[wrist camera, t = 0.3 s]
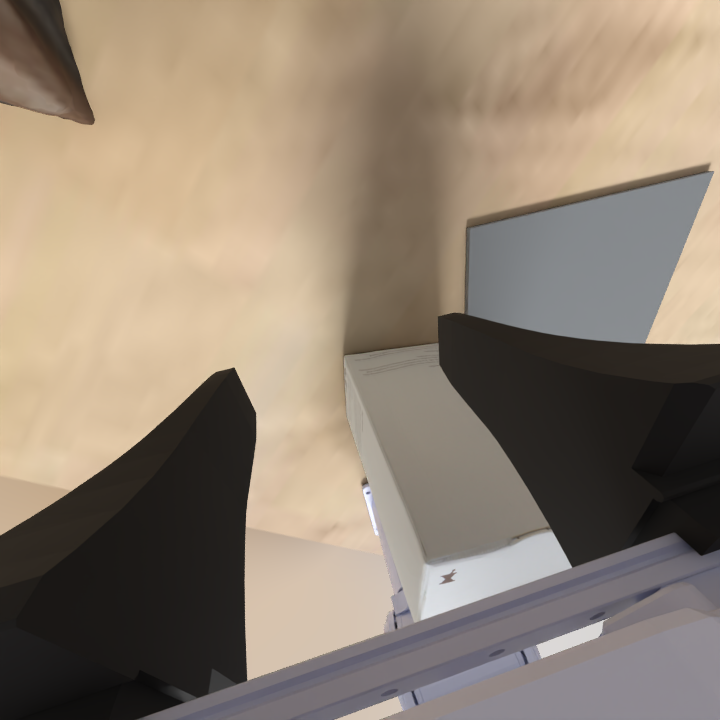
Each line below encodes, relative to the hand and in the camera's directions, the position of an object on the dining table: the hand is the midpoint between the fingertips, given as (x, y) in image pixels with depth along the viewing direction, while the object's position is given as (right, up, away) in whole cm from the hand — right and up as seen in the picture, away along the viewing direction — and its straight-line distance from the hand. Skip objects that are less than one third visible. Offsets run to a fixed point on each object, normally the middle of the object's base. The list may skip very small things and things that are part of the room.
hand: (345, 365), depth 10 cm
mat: (+18, +3, +15) cm, 23 cm away
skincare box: (+3, -1, +14) cm, 14 cm away
